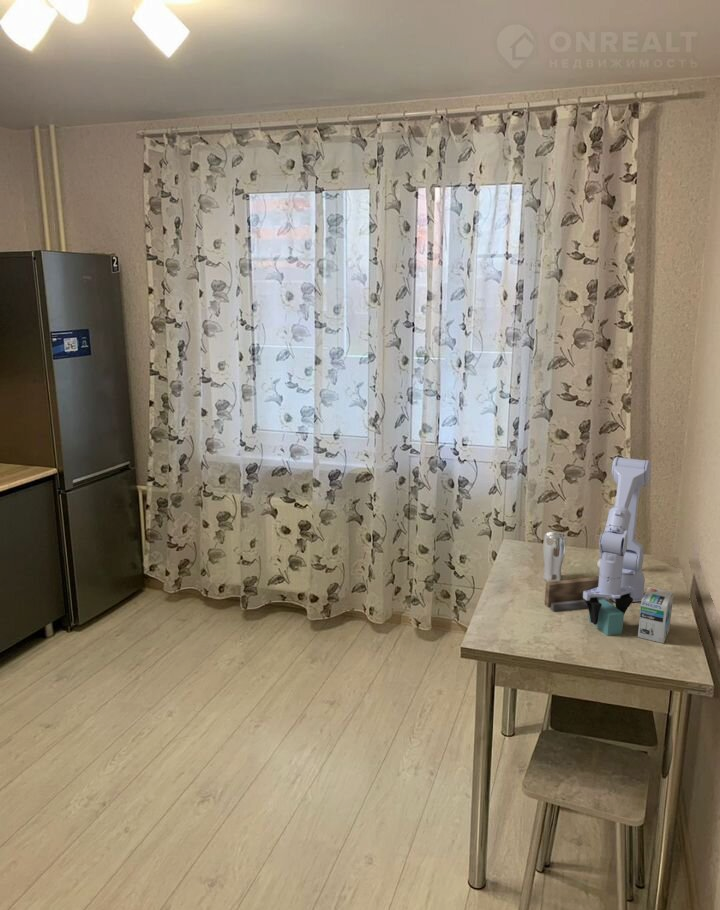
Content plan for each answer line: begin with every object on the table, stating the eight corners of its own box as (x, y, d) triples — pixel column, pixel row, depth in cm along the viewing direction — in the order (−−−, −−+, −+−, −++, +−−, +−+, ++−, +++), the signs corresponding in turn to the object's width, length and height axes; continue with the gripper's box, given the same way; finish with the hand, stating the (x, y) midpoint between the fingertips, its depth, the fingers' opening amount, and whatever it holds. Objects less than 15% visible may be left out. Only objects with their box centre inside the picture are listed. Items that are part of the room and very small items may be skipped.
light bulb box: (663, 644, 180) (668, 606, 177) (636, 637, 183) (640, 600, 181) (670, 628, 188) (674, 591, 186) (644, 622, 192) (648, 586, 190)
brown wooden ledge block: (598, 598, 207) (600, 576, 205) (608, 605, 202) (610, 583, 201) (544, 604, 203) (546, 582, 201) (553, 611, 198) (554, 589, 196)
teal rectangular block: (602, 619, 194) (604, 599, 192) (622, 633, 185) (624, 613, 184) (588, 620, 193) (590, 600, 191) (607, 635, 184) (609, 615, 183)
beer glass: (565, 577, 223) (569, 533, 219) (559, 584, 217) (562, 539, 214) (544, 572, 226) (547, 529, 223) (537, 579, 221) (540, 535, 217)
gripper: (595, 583, 180) (590, 630, 183) (643, 578, 183) (638, 625, 186) (580, 573, 186) (576, 619, 189) (627, 568, 190) (622, 613, 193)
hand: (606, 621), depth 188 cm, fingers open, 7 cm apart
